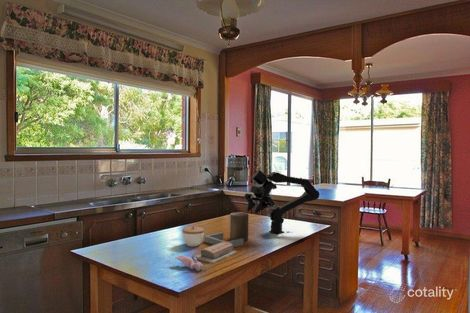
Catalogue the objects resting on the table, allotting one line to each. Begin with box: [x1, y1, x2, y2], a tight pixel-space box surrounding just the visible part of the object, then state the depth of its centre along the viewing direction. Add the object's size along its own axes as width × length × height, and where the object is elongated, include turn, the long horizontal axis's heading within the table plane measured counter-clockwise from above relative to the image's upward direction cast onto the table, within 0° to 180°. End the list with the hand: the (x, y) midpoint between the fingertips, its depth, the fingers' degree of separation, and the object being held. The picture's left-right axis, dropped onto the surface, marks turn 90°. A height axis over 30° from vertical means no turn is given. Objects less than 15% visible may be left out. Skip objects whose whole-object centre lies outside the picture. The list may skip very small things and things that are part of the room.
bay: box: [203, 232, 245, 248], centre depth 173 cm, size 12×17×3 cm
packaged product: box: [195, 241, 238, 264], centre depth 153 cm, size 18×5×10 cm
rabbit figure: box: [175, 254, 208, 272], centre depth 138 cm, size 6×6×15 cm
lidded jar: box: [181, 225, 205, 247], centre depth 170 cm, size 11×11×9 cm
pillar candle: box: [229, 211, 249, 242], centre depth 180 cm, size 10×10×15 cm
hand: (251, 211), depth 186 cm, fingers open, 5 cm apart
